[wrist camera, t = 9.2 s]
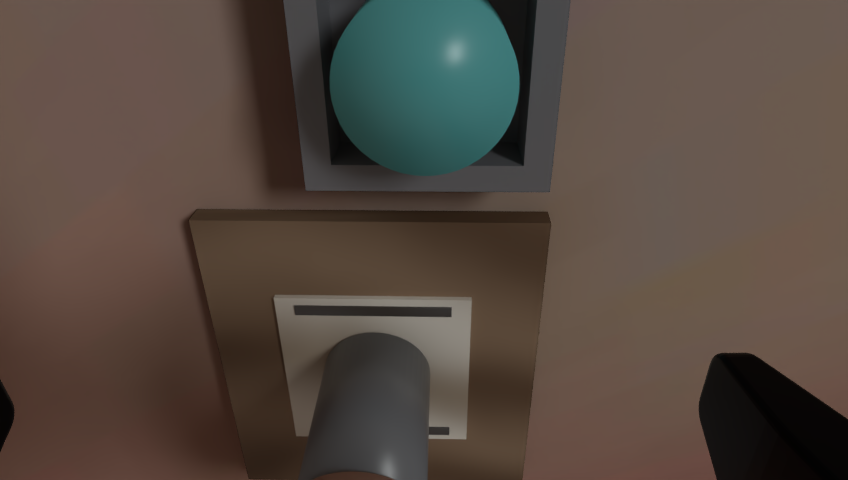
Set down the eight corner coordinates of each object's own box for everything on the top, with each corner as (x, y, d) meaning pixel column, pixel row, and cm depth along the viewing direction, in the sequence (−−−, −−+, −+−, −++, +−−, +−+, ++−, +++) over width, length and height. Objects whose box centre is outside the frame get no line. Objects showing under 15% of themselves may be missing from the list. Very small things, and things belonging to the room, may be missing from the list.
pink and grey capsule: (433, 412, 24) (429, 627, 17) (328, 411, 24) (283, 624, 17) (432, 330, 22) (426, 540, 15) (316, 330, 22) (260, 538, 15)
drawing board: (519, 469, 27) (522, 489, 26) (253, 464, 28) (247, 483, 27) (547, 211, 21) (552, 227, 20) (196, 209, 21) (185, 223, 20)
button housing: (537, 156, 20) (549, 192, 17) (321, 155, 20) (305, 190, 18) (561, -91, 16) (579, -87, 14) (297, -89, 16) (273, -85, 14)
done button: (504, 141, 17) (513, 176, 15) (350, 140, 17) (337, 175, 15) (515, -28, 15) (527, -13, 13) (337, -27, 15) (320, -12, 13)
